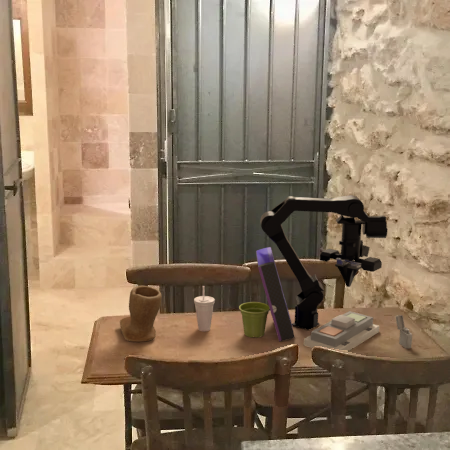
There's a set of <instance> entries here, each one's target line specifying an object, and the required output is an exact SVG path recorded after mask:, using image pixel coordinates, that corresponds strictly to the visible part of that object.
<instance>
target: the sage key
mask: <svg viewBox="0 0 450 450" xmlns="http://www.w3.org/2000/svg"><path fill="white" fill-rule="evenodd" d="M347 317H351V318H355V322H357V323H359V322H361V321H362V320H364V319H366V317H364V316H360V315H357V314H353V313H351V314H349V315H347Z"/></svg>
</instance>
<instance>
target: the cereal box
mask: <svg viewBox="0 0 450 450" xmlns="http://www.w3.org/2000/svg"><path fill="white" fill-rule="evenodd" d="M255 255H256V262H257V263H256V264H257V269H258V271H259V275H260V278H261V282H262V286H263V290H264V292H265V296H266V300H267V305H269V308H270V310H269V312H270V313H271V315H270V316H271V318H272V321H273V325H274V328H275V331H276V335H277V339H278V342H280V343H281V342H285V341H287V340H292V339H295V332H294V328H293V327H294V326H292V323H293V322H292V320H291V316H290V312H289V309H288V304H287V301H286V298H285V297H286V296H285V294H284V291H283V287H282V283H281V279H280V276H279V272H278V269H277V265H276V261H275V258H274V254H273V250H272V247H271V246H269V247H264V248H260V249H257V250H255Z"/></svg>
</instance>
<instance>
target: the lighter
mask: <svg viewBox="0 0 450 450" xmlns="http://www.w3.org/2000/svg"><path fill="white" fill-rule="evenodd" d="M395 321H396V327H397V330H398V331H399V338H398V339H399V340H398V344H399V345H401V346H402V347H403V348H405V349H406V350H407V349H412V344H413V343H412V341H413V333H412V332H410V329H409V328H408V327H406V326H405V319H404V315H403V314H398V315H395Z"/></svg>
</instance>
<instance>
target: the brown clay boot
mask: <svg viewBox="0 0 450 450" xmlns="http://www.w3.org/2000/svg"><path fill="white" fill-rule="evenodd" d="M162 295H163V294H162V293H161V291H160V290H158V289H157V288H155V287H152V286H148V285H138V286H134V287H133V288H132V289H131V291H130V292H129V299H128V310H129V311H128V312H129V316H126V317H123V318H122V319H120V321H119V327H120V330H121V334H122V336H123V338H124V339H125V340H126V341H128V342H131V343H132V342H133V343H142V342H143V343H144V342H149V341H153V340H155V338H156V336H157V332H156V328H155V326H154V325H155V321H156V317H157V315H158V314H159V311H160V308H161V306H162V305H161V304H162Z"/></svg>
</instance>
